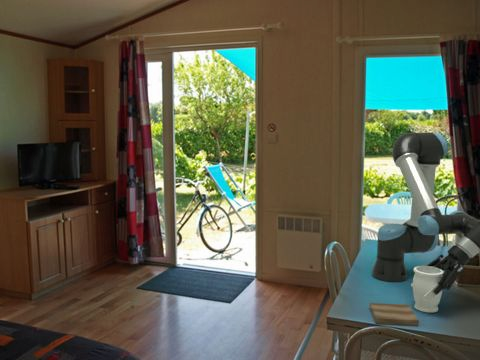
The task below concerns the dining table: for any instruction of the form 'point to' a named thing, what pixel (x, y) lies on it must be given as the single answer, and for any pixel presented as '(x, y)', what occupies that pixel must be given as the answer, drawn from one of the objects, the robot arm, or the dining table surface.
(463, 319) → the dining table surface
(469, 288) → the dining table surface
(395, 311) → the walnut stand
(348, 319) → the dining table surface
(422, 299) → the jar
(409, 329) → the dining table surface
